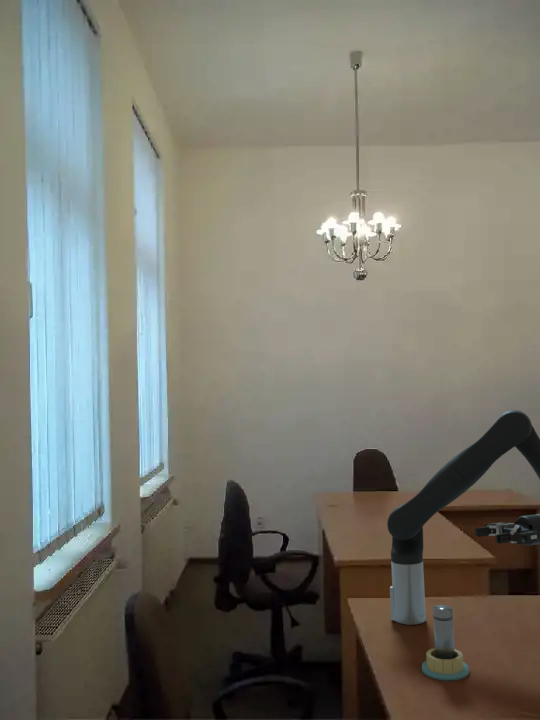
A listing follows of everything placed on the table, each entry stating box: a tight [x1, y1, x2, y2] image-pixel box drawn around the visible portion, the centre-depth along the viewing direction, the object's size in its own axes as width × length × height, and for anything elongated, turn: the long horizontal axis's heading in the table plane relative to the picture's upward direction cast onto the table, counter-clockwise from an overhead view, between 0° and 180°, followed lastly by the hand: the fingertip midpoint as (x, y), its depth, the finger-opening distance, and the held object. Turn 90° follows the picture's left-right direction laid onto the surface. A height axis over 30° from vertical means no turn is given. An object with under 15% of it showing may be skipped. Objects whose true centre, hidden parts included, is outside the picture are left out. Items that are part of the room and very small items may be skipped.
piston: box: [432, 604, 455, 659], centre depth 170 cm, size 5×5×14 cm
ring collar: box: [421, 647, 470, 682], centre depth 169 cm, size 11×11×4 cm
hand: (485, 535), depth 178 cm, fingers open, 8 cm apart
